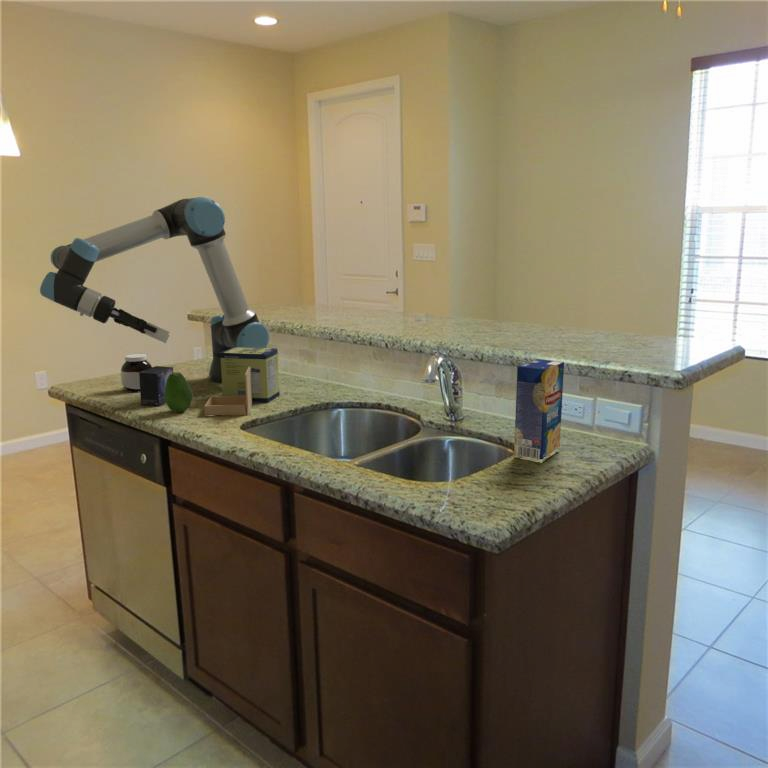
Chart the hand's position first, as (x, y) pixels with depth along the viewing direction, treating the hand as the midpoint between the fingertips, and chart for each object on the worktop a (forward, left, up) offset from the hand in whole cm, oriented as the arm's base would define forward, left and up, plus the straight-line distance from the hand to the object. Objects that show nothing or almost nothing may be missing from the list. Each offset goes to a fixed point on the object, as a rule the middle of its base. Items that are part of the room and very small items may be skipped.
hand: (167, 337), depth 209 cm
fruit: (+1, +7, -21) cm, 23 cm away
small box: (0, -9, -21) cm, 23 cm away
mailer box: (-9, +16, -21) cm, 28 cm away
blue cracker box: (-37, +105, -21) cm, 113 cm away
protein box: (-23, +8, -21) cm, 33 cm away
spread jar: (-5, -31, -21) cm, 38 cm away
